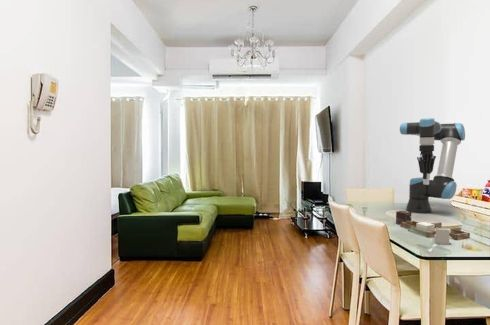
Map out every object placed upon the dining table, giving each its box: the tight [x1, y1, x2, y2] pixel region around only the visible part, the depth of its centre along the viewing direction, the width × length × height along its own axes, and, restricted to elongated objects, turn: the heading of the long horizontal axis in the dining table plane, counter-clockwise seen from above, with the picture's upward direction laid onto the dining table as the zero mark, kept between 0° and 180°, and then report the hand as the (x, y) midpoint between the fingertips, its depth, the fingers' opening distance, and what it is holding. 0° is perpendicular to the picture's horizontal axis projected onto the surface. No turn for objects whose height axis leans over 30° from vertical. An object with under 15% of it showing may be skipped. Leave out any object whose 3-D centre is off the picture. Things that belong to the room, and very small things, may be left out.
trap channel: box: [399, 220, 471, 241], centre depth 168 cm, size 23×28×2 cm
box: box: [395, 210, 413, 225], centre depth 184 cm, size 6×6×7 cm
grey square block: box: [433, 228, 453, 245], centre depth 150 cm, size 3×7×7 cm, turn 72°
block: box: [416, 221, 436, 232], centre depth 166 cm, size 6×6×5 cm
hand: (426, 184), depth 186 cm, fingers closed
